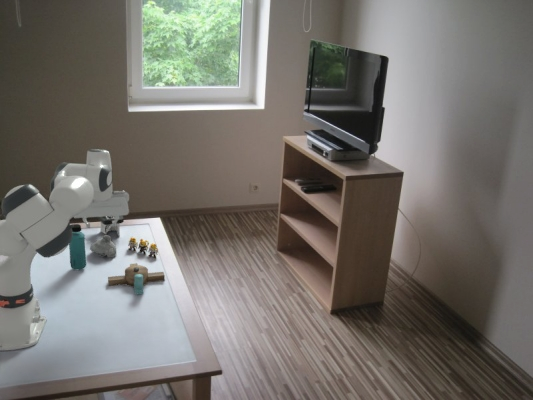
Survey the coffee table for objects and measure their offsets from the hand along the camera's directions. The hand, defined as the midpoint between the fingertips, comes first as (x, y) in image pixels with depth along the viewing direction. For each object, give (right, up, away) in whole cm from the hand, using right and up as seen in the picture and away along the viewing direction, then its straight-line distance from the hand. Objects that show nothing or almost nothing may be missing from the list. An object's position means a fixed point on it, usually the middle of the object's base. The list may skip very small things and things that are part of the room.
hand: (101, 226), depth 215 cm
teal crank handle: (+12, -25, +10) cm, 30 cm away
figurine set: (+6, -14, +42) cm, 45 cm away
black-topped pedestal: (-12, -7, +58) cm, 60 cm away
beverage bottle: (-16, -19, +24) cm, 35 cm away
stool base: (+8, -22, +20) cm, 31 cm away
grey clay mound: (-10, -14, +38) cm, 42 cm away
